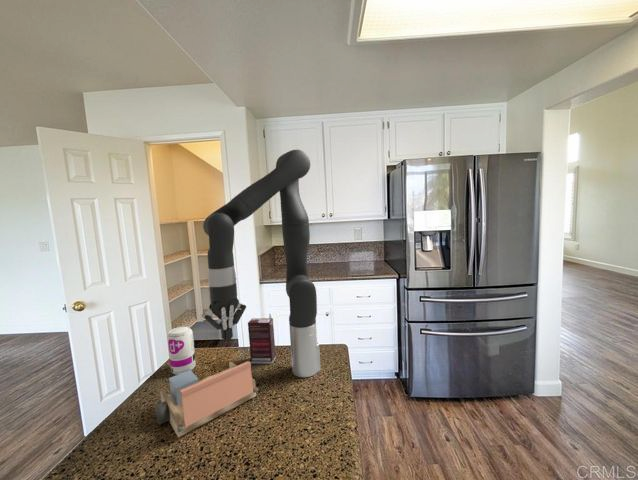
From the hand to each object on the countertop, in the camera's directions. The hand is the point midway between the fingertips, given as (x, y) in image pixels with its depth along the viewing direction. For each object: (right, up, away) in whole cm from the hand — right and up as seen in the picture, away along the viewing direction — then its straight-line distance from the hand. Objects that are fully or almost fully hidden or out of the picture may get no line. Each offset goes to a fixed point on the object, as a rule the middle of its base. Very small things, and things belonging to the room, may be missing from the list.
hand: (227, 340), depth 81 cm
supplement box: (+6, -17, +24) cm, 30 cm away
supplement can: (-23, -19, +20) cm, 36 cm away
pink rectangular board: (0, -17, -5) cm, 17 cm away
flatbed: (-5, -19, +1) cm, 20 cm away
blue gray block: (-13, -16, 0) cm, 21 cm away
